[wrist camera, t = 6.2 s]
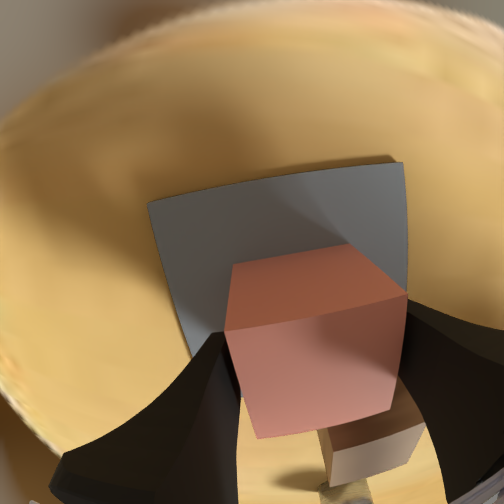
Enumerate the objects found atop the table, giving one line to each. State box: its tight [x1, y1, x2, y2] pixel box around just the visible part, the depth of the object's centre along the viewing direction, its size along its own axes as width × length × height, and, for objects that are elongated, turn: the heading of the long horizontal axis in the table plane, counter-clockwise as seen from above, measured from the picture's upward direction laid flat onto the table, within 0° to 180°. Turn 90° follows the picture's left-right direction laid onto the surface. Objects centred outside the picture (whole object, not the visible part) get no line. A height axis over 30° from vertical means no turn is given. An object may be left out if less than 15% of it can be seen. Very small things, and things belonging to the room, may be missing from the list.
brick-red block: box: [224, 243, 408, 439], centre depth 10 cm, size 5×5×5 cm
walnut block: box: [317, 375, 426, 487], centre depth 13 cm, size 5×5×5 cm
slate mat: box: [147, 162, 408, 397], centre depth 12 cm, size 11×11×1 cm
